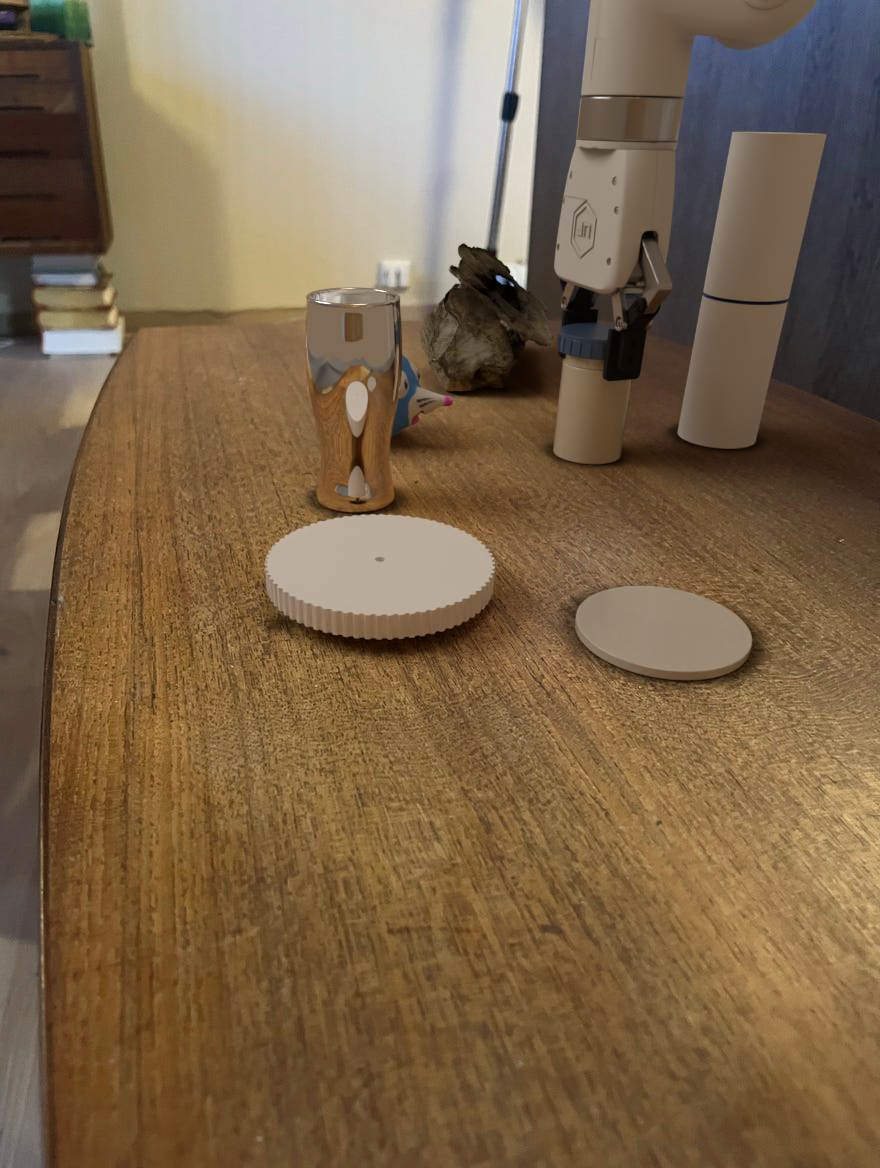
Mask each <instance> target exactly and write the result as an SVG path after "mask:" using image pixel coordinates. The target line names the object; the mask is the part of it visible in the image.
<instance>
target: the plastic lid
mask: <svg viewBox="0 0 880 1168" xmlns="http://www.w3.org/2000/svg"><path fill="white" fill-rule="evenodd" d="M264 571H265V572H264V573H265V586H266V593H267V594H268V595H267V596H268V598H270V602H271V603H273V606H274V607H275V608H277V610H278V611H279V612H283V615H284V616H285V617H287V616H289V619H290V620H292V621H295V620H296V624H298V625H299V624H300V625H301V624H304V627H306V628H310V627H311V628H312V629H313V631H314V630H315V631H319V630H320V631H322V633H325V634H329V633H330V634H332V635H334V636H339V635H341V636H342V637H344V638H349V637H353V638H354V639H360V638H364V639H365V640H371V639H375V640H379V641H381V640H383V639H387V640H393V639H398V640H404V639H405V638H410V639H412V638H415V637H417V636H420V637H425V636H426V635H427V634H429V635H435V634H436V632H439V633H440V632H441V633H442V632H444V631H446V629H449V630H451V629H453V628H454V627H455V626H461V625H462V623H463V622H464V623H466V622H468V621H469V620H470V618H471V619H474V618H475V617H476V614H477V615H479V614H481V610H485V608H486V606H487V605H488V604H489V601H491V600H492V596H493V593H494V585H495V575H496V562H495V557H493V553H492V552H491V550H490V549H489V548H487V545H486V544H483V541H481V540H478V537H476V536H473V535H472V534H471V533H467V531H465V530H460V528H458V527H453V526H452V525H451V524H445V522H437V520H429V519H428V518H420V517H419V516H415V517H414V516H413V517H412V516H411V515H405V516H404V515H402V514H397V515H394V514H390V513H389V514H384V513H379V514H375V513H371V514H360V515H357V514H353V515H351V516H348V515H344V516H343V517H334V518H332V519H330V518H327V519H326V520H319V521H317V522H316V523H315V522H312V523H310V525H303V527H301V528H300V527H299V528H296V530H295V531H290V532H289V534H285V535H284V536H283V537H281V538H279V540H278V541H276V542H275V543H274V545H272V546H271V547H270V549H269V550H268V552H267V554H266V556H265V558H264Z"/></svg>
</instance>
